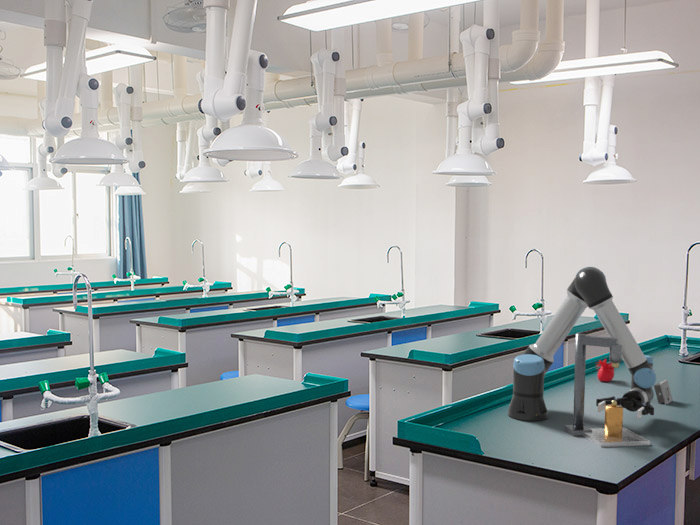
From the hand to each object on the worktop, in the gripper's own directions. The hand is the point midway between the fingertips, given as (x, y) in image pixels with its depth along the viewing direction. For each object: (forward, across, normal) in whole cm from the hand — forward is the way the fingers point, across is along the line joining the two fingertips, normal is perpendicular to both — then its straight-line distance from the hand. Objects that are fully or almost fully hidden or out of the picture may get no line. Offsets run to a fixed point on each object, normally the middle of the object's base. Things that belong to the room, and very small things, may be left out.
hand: (618, 411), depth 246 cm
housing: (+4, 0, -8) cm, 9 cm away
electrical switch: (-64, -1, -9) cm, 65 cm away
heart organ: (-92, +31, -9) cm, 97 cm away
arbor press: (+4, +3, -9) cm, 10 cm away
